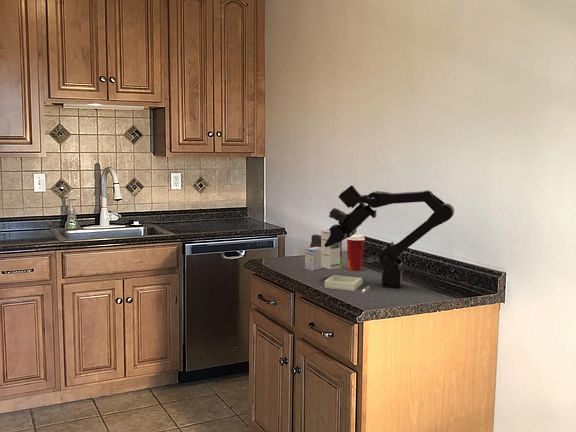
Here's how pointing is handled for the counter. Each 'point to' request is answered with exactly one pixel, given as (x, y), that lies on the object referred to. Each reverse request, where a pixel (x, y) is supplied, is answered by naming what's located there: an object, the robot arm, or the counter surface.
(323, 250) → the syrup box
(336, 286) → the tray
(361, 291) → the rod
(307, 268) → the medicine box
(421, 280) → the counter surface
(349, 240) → the paper cup
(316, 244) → the phone stand
